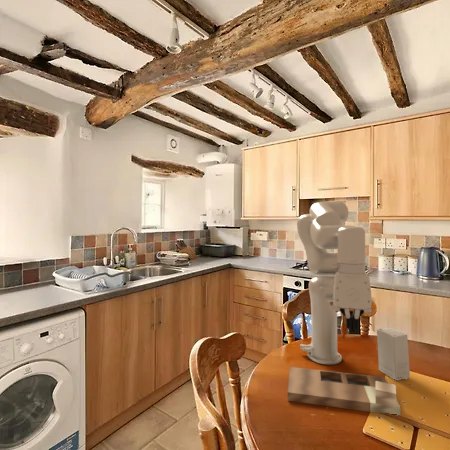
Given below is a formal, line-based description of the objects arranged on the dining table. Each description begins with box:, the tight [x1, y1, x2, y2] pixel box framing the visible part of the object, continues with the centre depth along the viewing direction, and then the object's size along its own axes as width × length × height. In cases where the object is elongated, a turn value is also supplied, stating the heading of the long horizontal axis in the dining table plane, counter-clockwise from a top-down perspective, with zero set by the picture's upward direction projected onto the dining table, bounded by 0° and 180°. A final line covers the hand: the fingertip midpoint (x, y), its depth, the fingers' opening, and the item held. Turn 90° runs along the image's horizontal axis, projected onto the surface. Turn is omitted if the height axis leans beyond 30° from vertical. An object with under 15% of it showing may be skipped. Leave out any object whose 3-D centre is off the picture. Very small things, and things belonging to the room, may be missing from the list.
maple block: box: [375, 381, 397, 408], centre depth 84 cm, size 5×5×4 cm
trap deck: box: [287, 366, 401, 416], centre depth 93 cm, size 30×16×2 cm, turn 75°
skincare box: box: [376, 327, 411, 381], centre depth 103 cm, size 8×6×15 cm
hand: (351, 330), depth 88 cm, fingers closed
